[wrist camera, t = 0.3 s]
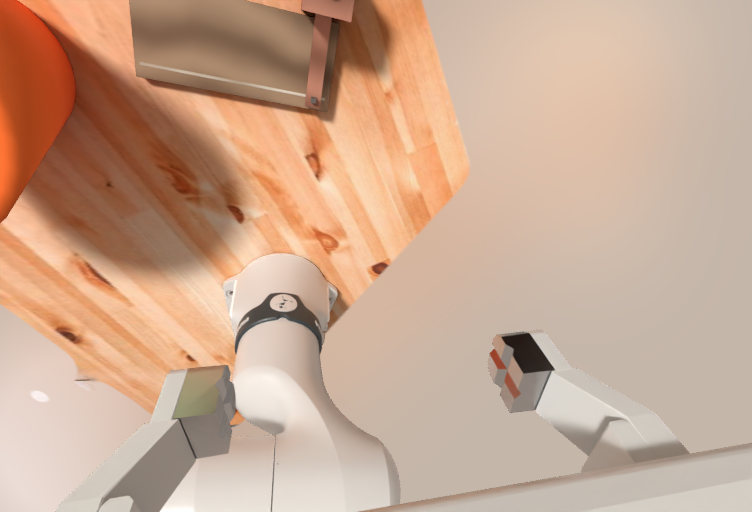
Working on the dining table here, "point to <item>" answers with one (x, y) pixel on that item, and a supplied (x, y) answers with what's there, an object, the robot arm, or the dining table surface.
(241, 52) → the plank
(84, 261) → the dining table surface
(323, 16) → the latch lever with knob
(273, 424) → the robot arm
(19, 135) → the flowerpot
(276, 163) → the dining table surface
